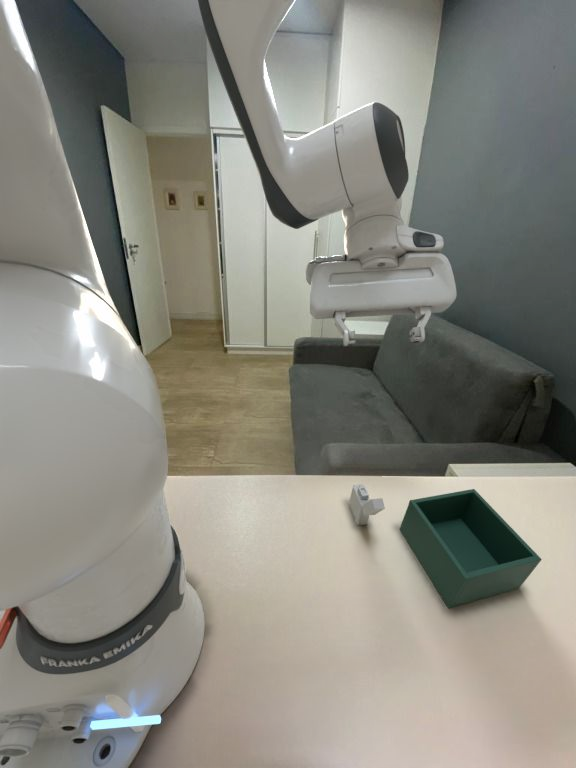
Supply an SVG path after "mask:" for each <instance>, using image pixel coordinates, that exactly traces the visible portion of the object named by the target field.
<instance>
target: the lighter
mask: <svg viewBox="0 0 576 768" xmlns="http://www.w3.org/2000/svg"><path fill="white" fill-rule="evenodd" d="M369 496H370V494H369V492H368V490H367V488H366V486H365V485H364V484H362V483H360V484H353V485H352V488H351V492H350V497H349V501H348V506H349V508H350V511H351V514H352V517H353V519H354V521H355V524H356V525H357V526H363V525H367V524H368V521H369V517H370V516H376V515H377V514H379V513H380V512H382V511H383V510H385V509H386V507H385V503H384V499H383V498H382V497H380V498H370V497H369Z"/></svg>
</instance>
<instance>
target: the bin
mask: <svg viewBox="0 0 576 768" xmlns="http://www.w3.org/2000/svg"><path fill="white" fill-rule="evenodd" d="M405 510H406V511H405V512H404V516H403V518H402V521H401V524H400V526H399V530H400V532H401V533H402V535H403V537H404V538H405V540H406V542H407V543H408V545H409V547H410V548H411V550H412V552H413V553H414V555H415V556H416V558H417V559H418V561H419V563H420V565H421V566H422V568H423V570H424V571H425V572H426V574H427V576H428V578H429V580H430V581H431V583H432V584H433V586H434V587H435V589H436V591H437V592H438V594H439V596H440V597H441V599H442V600H443V602H444V604H445V605H446V607H447V608H448V609H450V608H453V607H458V606H461V605H464V604H467V603H472V602H475V601H478V600H482V599H486V598H489V597H492V596H496V595H500V594H504V593H507V592H510V591H514V590H518V589H520V588H521V587H522V586H523V584H524V583H525V582H526V581H527V579H528V578H529V577H530V576H531V574H532V573H533V571H534V570H535V569H536V568H537V566H538V565H539V564H540V563H541V561H542V560H543V559H542V558H541V557H540V556H539V554H537V553H536V552H535V550H533V548H532V547H530V545H529V544H528V543H527V542H526V541H525V540H524V539H523V538H522V537H521V536H520V535H519V534H518V533H517V532H516V531H515V530H514V529H513V528H512V526H510V524H509V523H508V522H506V521H505V519H504V518H503V517H502V516H501V515H500V514H499V513H498V512H497V511H496V510H495V509H494V508H493V507H492V506H491V505H490V504H489V503H488V502H487V501H486V500H485V498H484V497H483V496H482V495H480V494H479V492H478V491H477V490H476V489H475V488H471V489H466V490H465V489H464V490H460V491H454V492H448V493H443V494H437V495H431V496H427V497H421V498H416V499H410V500H409V503H408V505H407V507H406V509H405Z"/></svg>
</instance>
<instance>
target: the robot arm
mask: <svg viewBox="0 0 576 768" xmlns="http://www.w3.org/2000/svg"><path fill="white" fill-rule="evenodd" d="M296 1H297V0H197V2H198V8H199V12H200V16H201V20H202V24H203V27H204V31H205V34H206V38H207V41H208V44H209V46H210V50H211V52H212V55H213V58H214V60H215V64H216V66H217V70H218V71H219V74H220V75H219V76H220V78H221V80H222V82H223V86H224V88H225V91H226V93H227V96H228V98H229V101H230V103H231V107H232V109H233V111H234V114H235V116H236V119H237V121H238V122H237V123H238V125H239V126H240V129H241V132H242V134H243V137H244V139H245V142H246V144H247V147H248V149H249V153H250V155H251V157H252V159H253V160H252V161H253V162H254V165H255V167H256V170H257V173H258V176H259V180H260V184H261V186H262V190H263V193H264V197H265V200H266V202H267V206H268V208H269V211H270V212H271V214H272V216H273V217H274V219H275V220H277V221H279V222H280V223H282V224H283V225H286V226H287V227H290V228H292V229H294V230H299V229H301V228H303V227H306V226H307V225H310V224H313V223H314V222H316V221H318V220H319V219H321V218H324V217H327V216H330V215H333V214H335V213H338V212H341V217H342V221H343V223H344V227H345V229H344V234H343V246H344V247H343V248H344V249H343V250H344V254H341V255H338V254H337V255H331V256H316V257H315V258H314V259H313V260H310V261H309V262H308V263H307V265H306V267H305V279H306V282H307V283H308V284H309V286H310V290H309V291H310V292H309V314H310V315H311V316H312V317H313V318H314V319H315V320H329V319H334V326H335V328H336V329H337V331H339V333H340V334H341V336H342V342H343V347H352V346H355V345H356V344H357V343H356V330H349V328H348V326H347V325H346V323H345V322H346V319H347V318H363V317H383V316H385V317H386V316H399V315H401V316H403V315H404V316H405V315H414V318H415V321H418V324H417V326H414V327H412V328H411V329H410V330H409V331H408V333H409V334H408V335H409V337H410V338H409V342H410V343H412V344H415V343H418V344H419V343H423V342H424V341H425V340H426V331H425V327H426V325H427V324H428V322H429V319H430V318H431V315H432V314H438V313H439V314H441V313H444V312H445V311H446V310H447V309H449V308H450V307H451V306H452V304H454V302H455V301H456V299H457V296H458V293H457V292H458V291H457V285H456V280H455V276H454V272H453V268H452V264H451V263H450V260H449V259H448V257H447V256H446V255H445V254H443V253H441V252H442V250H443V248H444V245H445V244H444V237H443V236H442V235H440V234H437V233H433V232H428V231H423V230H421V229H416V228H413V227H410V226H407V225H405V222H404V219H403V218H402V215H401V211H402V203H403V201H402V200H403V198H402V195H403V194H404V191H405V188H406V187H407V184H408V182H409V178H410V177H409V176H410V175H409V167H408V162H407V158H406V142H405V141H406V140H405V133H404V128H403V124H402V123H403V122H402V120H401V118H400V116H399V115H398V114H397V113H396V112H394V111H393V110H392V109H391V108H389V107H388V106H386V105H385V104H383V103H382V102H381V103H380V102H378V101H373V102H371V103H368V104H365V105H363V106H361V107H359V108H357V109H354V110H353V111H350V112H348V113H346V114H344V115H343V116H340V117H339V118H336V119H335V120H334V121H331V122H330V123H328V124H325V125H324V126H321V127H319V128H317V129H315V130H312V131H311V132H309V133H306V134H305V135H303V136H300V137H296V138H291V137H288V136H286V135H285V133H284V129H283V126H282V122H281V119H280V114H279V112H278V108H277V105H276V102H275V96H274V94H273V89H272V86H271V82H270V78H269V76H268V75H269V74H268V71H267V66H266V62H265V61H266V55H267V53H268V49H269V47H270V44H271V42H272V41H273V39H274V37H275V35H276V32H277V31H278V29H279V28H280V26H281V24H282V22H283V20H284V19H285V17H286V16H287V14H288V12H289V11H290V9H291V8H292V7H293V5H294V3H295V2H296ZM69 167H70V166H69V164H68V161H67V158H66V154H65V151H64V148H63V144H62V141H61V138H60V134H59V130H58V126H57V124H56V120H55V116H54V112H53V109H52V105H51V102H50V99H49V96H48V94H47V90H46V88H45V84H44V81H43V78H42V75H41V73H40V70H39V66H38V63H37V60H36V58H35V55H34V52H33V49H32V45H31V43H30V40H29V37H28V35H27V32H26V29H25V26H24V23H23V20H22V17H21V13H20V11H19V9H18V6H17V2H16V0H0V768H129V767H130V765H132V763H133V761H134V759H135V758H136V756H137V754H138V753H139V751H140V749H141V747H142V746H143V744H144V741H145V739H146V737H147V735H148V734H149V732H150V729H151V728H152V727H153V725H159V724H161V721H162V717H161V715H162V714H163V713H164V712H165V711H166V710H167V709H168V707H169V706H170V705H171V704H172V703H173V702H174V701H175V699H176V698H177V697H178V696H179V695H180V693H181V692H182V690H183V689H184V687H185V686H186V685H187V682H188V681H189V679H190V678H191V676H192V674H193V672H194V670H195V667H196V666H197V663H198V660H199V658H200V655H201V652H202V648H203V644H204V638H205V629H206V621H205V620H206V618H205V611H204V607H203V603H202V600H201V598H200V596H199V594H198V592H197V591H196V589H195V588H194V587H193V585H191V584H190V582H189V581H187V569H186V564H185V563H186V562H185V558H184V553H183V550H182V549H181V544H180V541H179V537H178V534H177V532H176V530H175V529H174V527H173V525H172V524H171V521H170V515H169V511H168V510H169V509H168V505H167V501H166V495H165V491H164V489H165V485H166V481H167V477H168V472H169V460H170V459H169V448H168V446H169V445H168V438H167V431H166V423H165V415H164V408H163V404H162V399H161V394H160V391H159V387H158V383H157V378H156V376H155V375H156V374H155V373H154V371H153V369H152V367H151V365H150V363H149V362H148V360H147V358H146V356H145V355H144V354H143V352H142V351H141V349H140V347H139V346H138V344H137V343H136V341H135V339H134V338H133V336H132V335H131V333H130V331H129V330H128V328H127V325H126V323H124V320H123V319H122V317H121V314H120V313H119V311H118V309H117V306H115V305H116V304H115V303H114V300H113V299H112V296H111V294H110V291H109V289H108V286H107V283H106V280H105V277H104V274H103V271H102V268H101V265H100V263H99V258H98V257H97V253H96V250H95V247H94V245H93V241H92V238H91V235H90V232H89V228H88V225H87V222H86V219H85V216H84V213H83V209H82V206H81V203H80V199H79V197H78V193H77V190H76V187H75V184H74V180H73V176H72V175H71V174H72V173H71V171H70V168H69ZM107 747H110V750H109V753H108V755H107V756H106V757H105V758H102V755H103V752H104V751H105V749H106V748H107Z"/></svg>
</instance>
